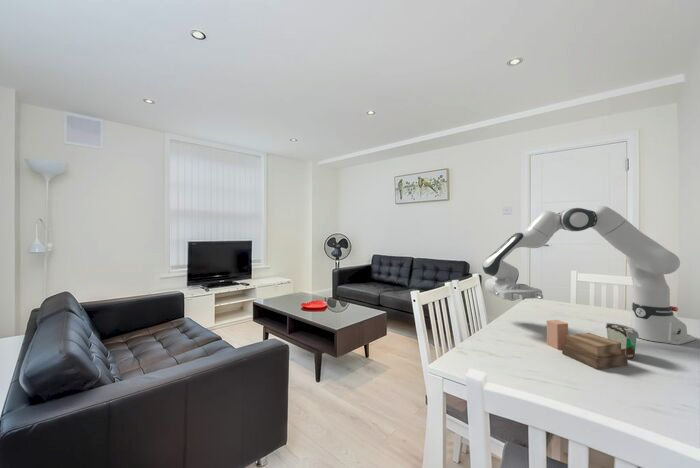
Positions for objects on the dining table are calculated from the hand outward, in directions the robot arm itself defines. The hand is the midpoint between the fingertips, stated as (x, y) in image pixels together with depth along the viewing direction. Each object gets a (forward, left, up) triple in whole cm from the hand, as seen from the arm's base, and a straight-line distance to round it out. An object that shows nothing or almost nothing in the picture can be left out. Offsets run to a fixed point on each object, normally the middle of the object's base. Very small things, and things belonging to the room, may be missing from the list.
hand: (532, 297), depth 131 cm
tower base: (-2, +25, -18) cm, 31 cm away
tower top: (-2, +25, -14) cm, 29 cm away
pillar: (0, +12, -17) cm, 21 cm away
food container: (-18, +24, -18) cm, 35 cm away
